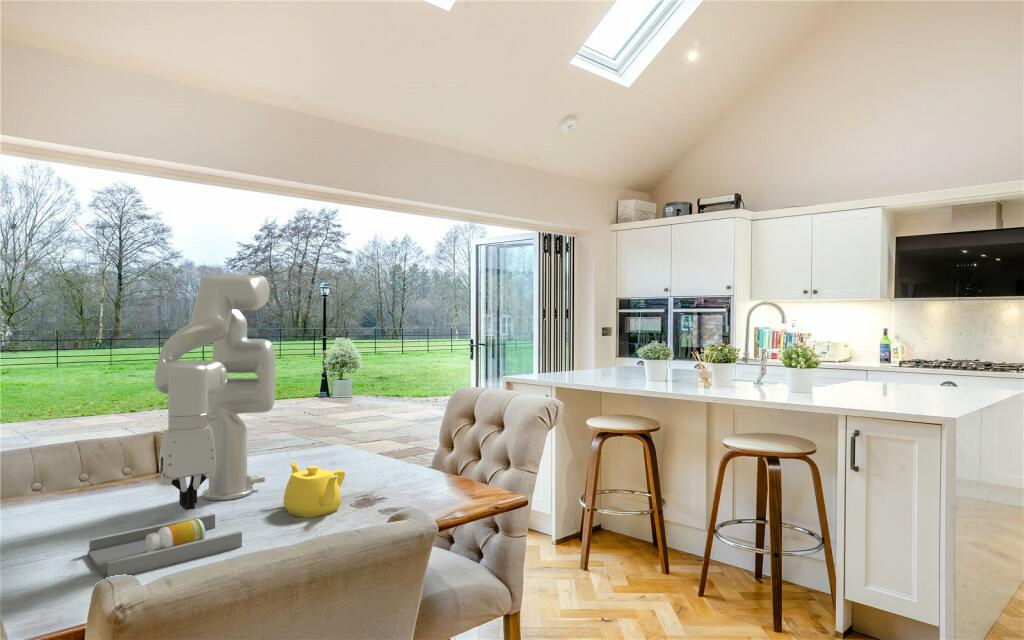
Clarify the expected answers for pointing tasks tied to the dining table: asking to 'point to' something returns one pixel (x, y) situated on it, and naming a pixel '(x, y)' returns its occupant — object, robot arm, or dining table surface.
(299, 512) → the teapot
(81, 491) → the dining table surface
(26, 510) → the dining table surface
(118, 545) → the grey channel
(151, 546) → the supplement bottle
